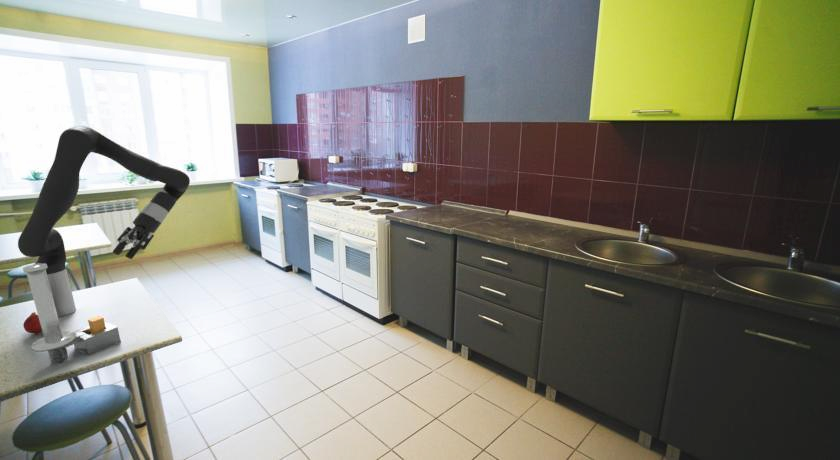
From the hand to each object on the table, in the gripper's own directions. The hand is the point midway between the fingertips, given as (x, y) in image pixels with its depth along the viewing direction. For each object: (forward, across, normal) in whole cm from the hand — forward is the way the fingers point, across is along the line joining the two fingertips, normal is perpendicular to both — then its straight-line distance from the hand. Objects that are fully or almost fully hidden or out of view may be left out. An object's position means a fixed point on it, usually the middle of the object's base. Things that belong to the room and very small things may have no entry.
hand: (121, 255), depth 137 cm
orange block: (+27, +6, +9) cm, 29 cm away
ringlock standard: (+32, +6, +5) cm, 33 cm away
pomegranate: (+33, -21, +4) cm, 39 cm away
